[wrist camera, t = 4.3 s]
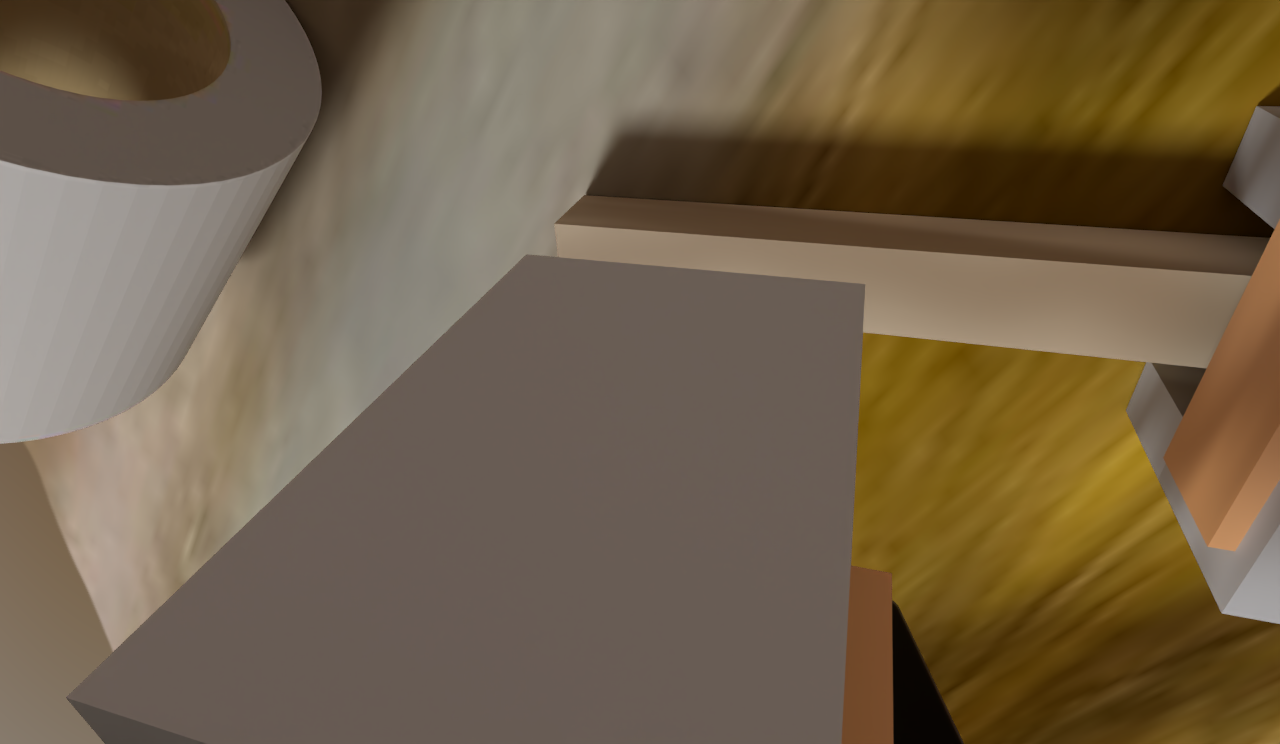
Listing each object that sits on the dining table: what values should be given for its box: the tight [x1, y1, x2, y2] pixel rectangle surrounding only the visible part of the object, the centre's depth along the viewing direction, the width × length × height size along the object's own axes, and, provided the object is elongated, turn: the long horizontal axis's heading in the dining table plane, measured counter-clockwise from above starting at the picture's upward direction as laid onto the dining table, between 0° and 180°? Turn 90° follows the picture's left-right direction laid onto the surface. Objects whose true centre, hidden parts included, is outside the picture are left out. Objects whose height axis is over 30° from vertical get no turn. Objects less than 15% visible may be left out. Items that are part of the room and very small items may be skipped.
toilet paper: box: [0, 0, 322, 443], centre depth 16 cm, size 10×10×10 cm
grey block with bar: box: [554, 106, 1280, 624], centre depth 13 cm, size 7×18×6 cm, turn 93°
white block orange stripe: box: [66, 255, 893, 744], centre depth 7 cm, size 7×4×6 cm, turn 3°
